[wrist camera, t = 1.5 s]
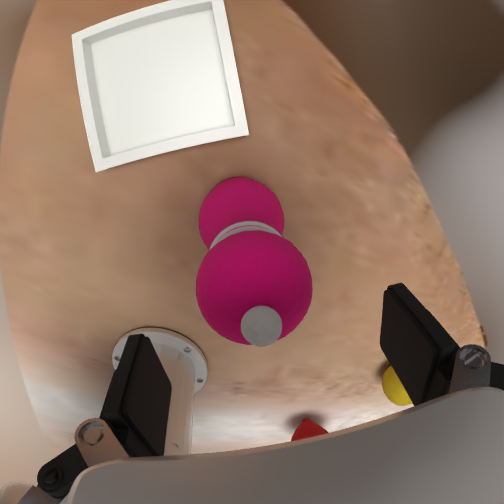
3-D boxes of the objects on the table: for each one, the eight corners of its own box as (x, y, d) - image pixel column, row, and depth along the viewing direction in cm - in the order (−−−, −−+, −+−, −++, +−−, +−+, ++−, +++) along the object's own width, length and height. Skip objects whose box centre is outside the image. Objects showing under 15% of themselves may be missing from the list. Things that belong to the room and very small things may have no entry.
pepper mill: (287, 190, 30) (380, 296, 12) (255, 252, 33) (293, 407, 14) (220, 159, 29) (216, 225, 10) (190, 225, 31) (153, 370, 13)
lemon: (369, 379, 43) (388, 417, 36) (383, 352, 41) (406, 391, 33) (397, 377, 44) (417, 412, 36) (411, 351, 42) (435, 386, 34)
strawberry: (310, 433, 47) (323, 479, 38) (276, 424, 45) (286, 475, 36) (334, 414, 46) (350, 462, 36) (300, 404, 43) (314, 457, 34)
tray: (246, 133, 28) (249, 134, 25) (106, 167, 28) (95, 172, 25) (221, 2, 22) (221, -10, 20) (84, 41, 22) (71, 34, 19)
